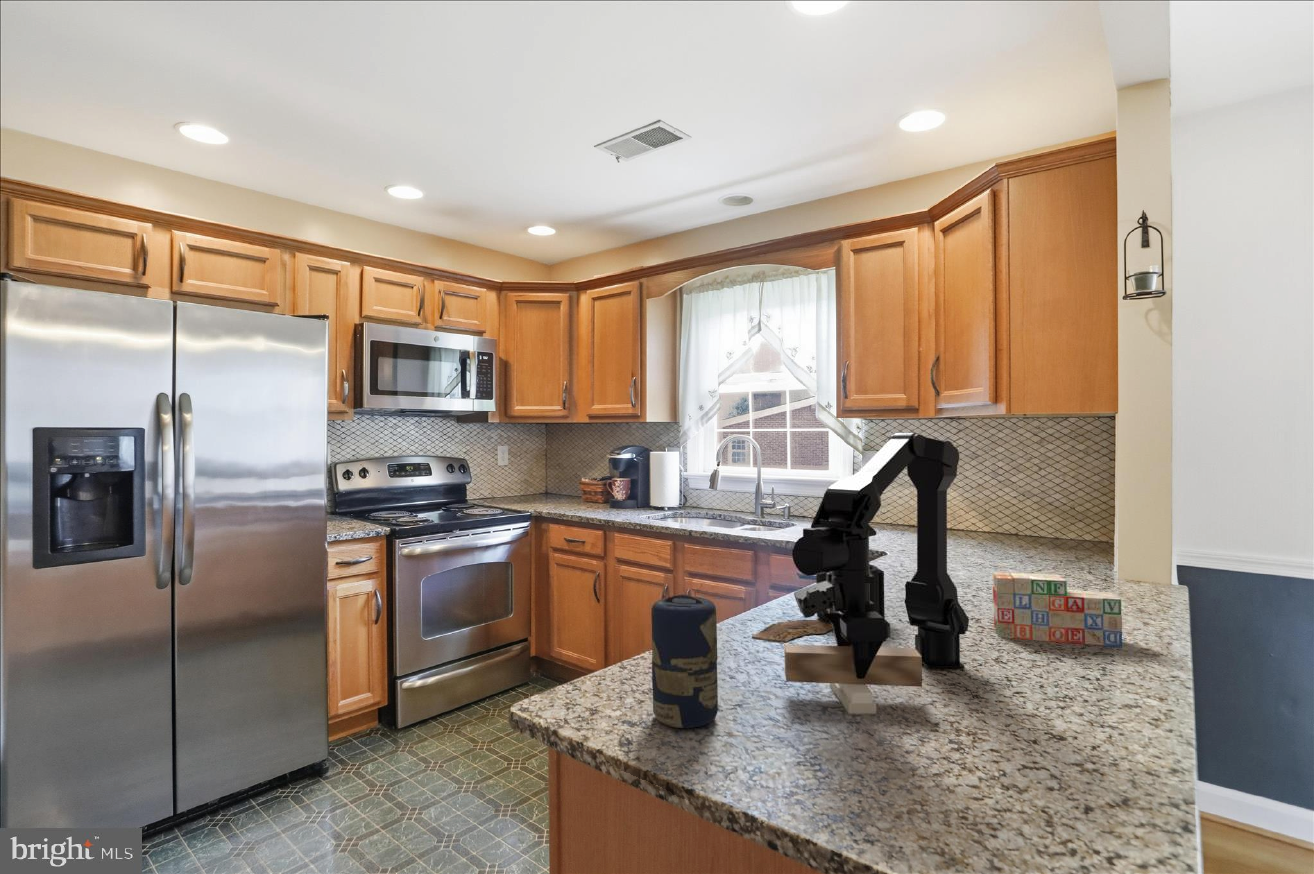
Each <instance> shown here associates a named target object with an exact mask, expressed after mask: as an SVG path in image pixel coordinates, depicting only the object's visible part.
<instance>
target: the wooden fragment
mask: <svg viewBox="0 0 1314 874" xmlns="http://www.w3.org/2000/svg"><path fill="white" fill-rule="evenodd" d="M830 631H833V628H832V625H831V623H828V622H825V621H823V620H822V619H820V618H819V619H797V620H796V619H795V620H791V621H790V620H788V621H779V622H776V623H772V624H770V625H769V626H767V627H765V628H763V629H762V630H760V631H759V632H758V633H757V632H756V633H755V634H753V635H752V636H751V639H755V640H760V641H762V642H763V641H764V642H765V641H766V642H775V643H787V642H790V641H791V640H794V639H796V638H801V637H802V638H803V637H804V636H809V635H813V636H815V635H819V634H820V635H822V634H826V633H828V632H830Z"/></svg>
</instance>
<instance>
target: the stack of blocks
mask: <svg viewBox="0 0 1314 874" xmlns="http://www.w3.org/2000/svg"><path fill="white" fill-rule="evenodd" d="M992 575H993V578H992V579H993V586H992V599H993V624H994V625H993V628H994V629H993V630H994V632H995V633H996V635H997V637H999V638H1007V639H1008V638H1009V639H1017V640H1018V639H1019V640H1030V641H1041V642H1043V641H1044V642H1056V643H1068V644H1079V645H1091V646H1105V647H1115V648H1116V647H1117V648H1122V647H1123V617H1122V616H1123V615H1122V613H1123V612H1122V599H1121V598H1120V597H1119V596H1117V595H1115V594H1114V593H1113V592H1106V591H1105V592H1104V591H1093V590H1075V589H1068V587H1067V585H1068V584H1067V580H1066V579H1064V578H1063V577H1062V576H1061V575H1060V574H1050V573H1049V574H1047V573H1032V572H1030V573H1027V572H1026V573H1025V572H1024V573H1023V572H1006V571H1005V572H1002V571H1001V572H1000V571H993V573H992Z"/></svg>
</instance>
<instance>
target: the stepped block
mask: <svg viewBox="0 0 1314 874" xmlns="http://www.w3.org/2000/svg"><path fill="white" fill-rule="evenodd" d="M829 686H830V688H831V689H832V690H833V692H834V694H835V695H836V696H837V698H838V699H839V701H840V703H841V704H842V706H843V708H844V709H845V710H846V712H847V714H851V715H852V714H853V715H854V714H855V715H856V714H859V715H861V714H862V715H863V714H865V715H866V714H867V715H868V714H871V715H873V714H877V703H876V701H875V700H874V698H873V697H874V695H873V694H874V693H873V692H872V690H871V689H870V688H869V687H868V685H863V684H836V683H829Z"/></svg>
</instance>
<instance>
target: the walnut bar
mask: <svg viewBox="0 0 1314 874" xmlns="http://www.w3.org/2000/svg"><path fill="white" fill-rule="evenodd" d="M922 665H923V664H922V656H921V655H920V654H919V653H918V651H917V650H916V649H915V647H890V646H889V647H886V646H885V647H884V646H883V647H882V646H881V647H880V649H879V650H878V652H877V654H876V656H875V658H874V660H873V662H872V664H871V666H870V668H869V670H868V672H867V674H866V676H865V678H864V679H858V678H857V677H856V673H855V668H854V662H853V656H852V650H851V646H837V645H821V644H819V645H818V644H817V645H815V644H787V643H786V644H784V675H785V681H786V683H788V682H789V683H815V684H817V683H818V684H830V683H836V684H863V685H866V686H868V685H869V686H889V687H890V686H893V687H895V686H896V687H917V688H918V687H920V688H921V687H923V666H922Z"/></svg>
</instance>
